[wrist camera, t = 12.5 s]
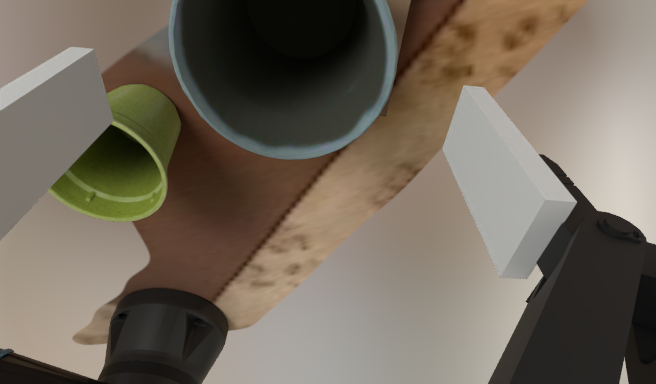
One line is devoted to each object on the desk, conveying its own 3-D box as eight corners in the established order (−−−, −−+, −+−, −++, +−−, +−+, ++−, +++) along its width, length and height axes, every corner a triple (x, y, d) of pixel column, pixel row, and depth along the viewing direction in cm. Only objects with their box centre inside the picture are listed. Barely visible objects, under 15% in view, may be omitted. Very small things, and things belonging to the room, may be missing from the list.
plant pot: (75, 124, 34) (11, 183, 27) (108, 37, 29) (41, 82, 22) (174, 175, 37) (139, 239, 31) (218, 106, 33) (188, 162, 26)
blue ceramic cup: (339, 93, 30) (342, 184, 21) (212, 43, 28) (152, 121, 18) (401, -45, 24) (445, -5, 15) (248, -123, 22) (186, -133, 13)
